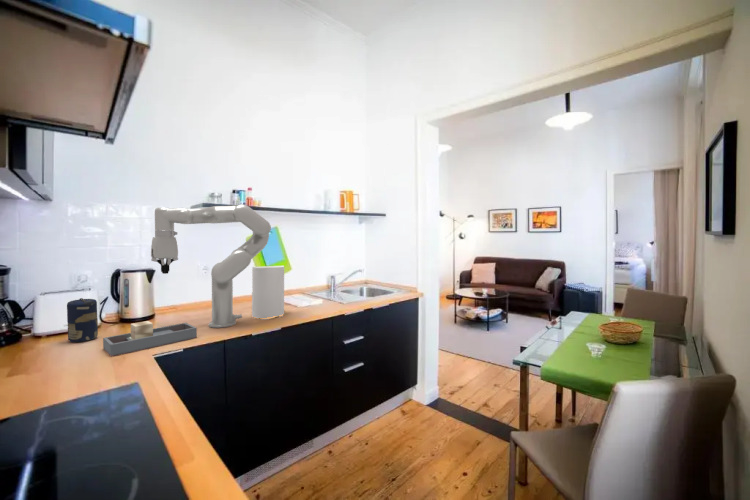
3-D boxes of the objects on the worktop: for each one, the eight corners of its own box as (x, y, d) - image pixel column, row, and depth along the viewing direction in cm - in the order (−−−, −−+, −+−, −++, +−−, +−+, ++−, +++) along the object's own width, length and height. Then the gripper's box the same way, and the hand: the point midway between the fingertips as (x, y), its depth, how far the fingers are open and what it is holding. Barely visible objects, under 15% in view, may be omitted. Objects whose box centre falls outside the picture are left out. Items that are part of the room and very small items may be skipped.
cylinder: (288, 316, 182) (288, 267, 180) (256, 320, 172) (256, 268, 171) (278, 310, 196) (278, 264, 195) (248, 314, 186) (248, 265, 185)
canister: (97, 334, 145) (96, 295, 144) (99, 340, 138) (98, 298, 137) (67, 339, 138) (66, 297, 137) (68, 345, 131) (66, 301, 131)
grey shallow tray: (186, 332, 151) (185, 322, 151) (196, 337, 143) (196, 327, 143) (103, 349, 128) (103, 337, 128) (110, 356, 120) (110, 344, 120)
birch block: (148, 334, 137) (148, 320, 136) (153, 337, 133) (152, 323, 133) (130, 338, 132) (130, 323, 132) (135, 341, 128) (135, 326, 128)
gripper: (179, 234, 159) (179, 271, 160) (143, 234, 148) (143, 274, 149) (185, 234, 154) (185, 272, 155) (148, 234, 143) (149, 275, 144)
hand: (165, 273), depth 152 cm, fingers closed
